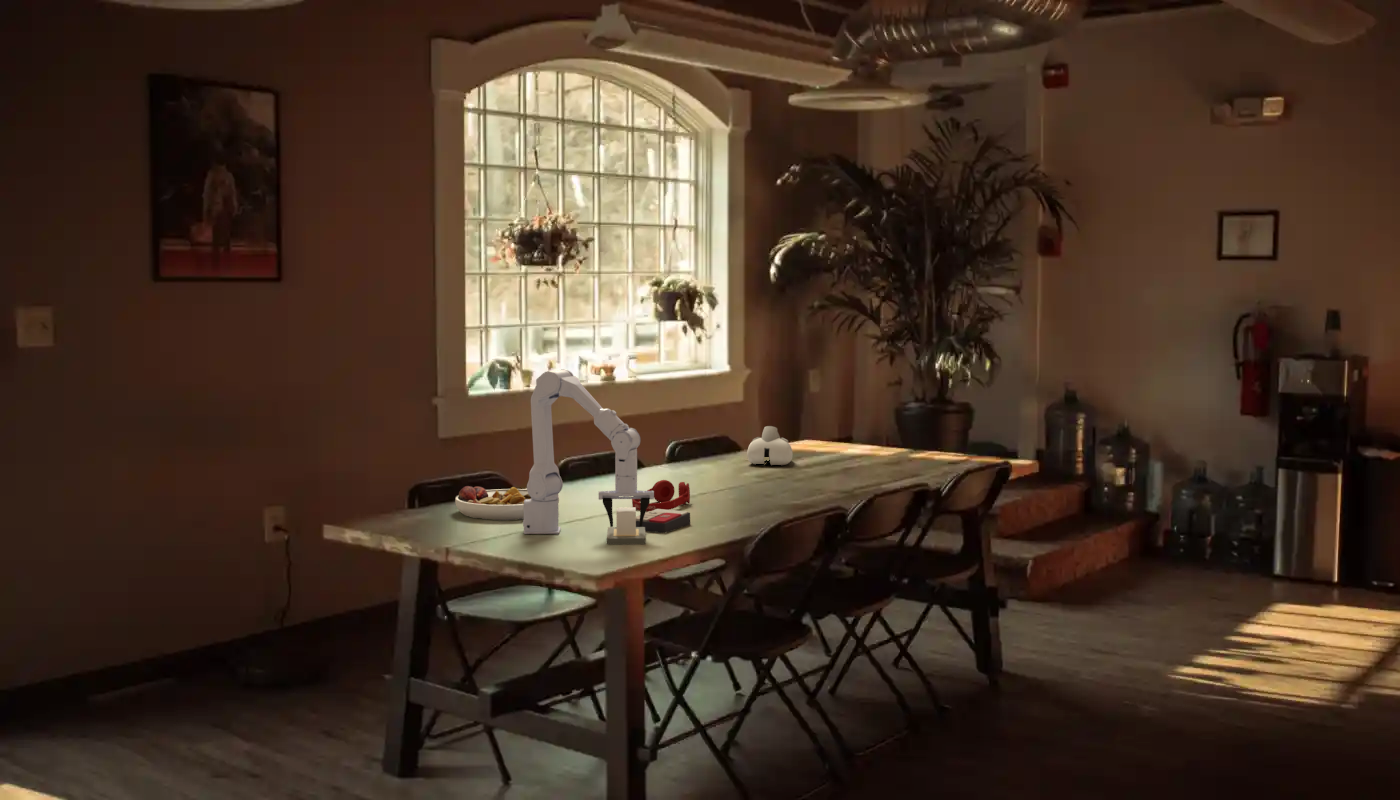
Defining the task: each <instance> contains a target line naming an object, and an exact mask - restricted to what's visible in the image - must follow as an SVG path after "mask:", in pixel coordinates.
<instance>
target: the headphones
mask: <svg viewBox="0 0 1400 800" xmlns="http://www.w3.org/2000/svg"><path fill="white" fill-rule="evenodd" d="M685 482H686V481H680V482H679V483H678V497H676V498H673V497H674V495H675V487H674V484H673V483H672V482H671V481H670V480H667V479H661V480H657V481H656V482H655V483H654V485H653V486H652V487H651V488H649V489H647V490H646V491H654V499H653V500H655V501H656V502H653V503H652V502H650V503H649V505H648V507H647V509H646V512H649V511H653V510H655V509H665V510H674V509H676V508H677V507H680V506H686V505H687V504H690V502H691V491H690V490H691V488H690V483H688V482H687V483H685ZM631 502H632V504H631V505H632V507H636V511H640V499H631ZM660 502H661V503H660Z"/></svg>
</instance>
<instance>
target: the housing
mask: <svg viewBox="0 0 1400 800" xmlns="http://www.w3.org/2000/svg"><path fill="white" fill-rule="evenodd" d="M615 515H616V527H617V535H636V517H637V510H636V507H633V506H631V507H629V506H627V507H625V506H622V507H621V506H619V507H616V514H615Z"/></svg>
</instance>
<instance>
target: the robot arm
mask: <svg viewBox="0 0 1400 800" xmlns="http://www.w3.org/2000/svg"><path fill="white" fill-rule="evenodd" d="M535 381H536V383H535V384H536V385H535V388H534V389H533V392H532V394H531V397H530V413H531V415H530V417H531V429H532V430H531V431H532V434H531V435H532V451H533V465H532V467H531V469H530V471H529V475H528V477H529V478H528V480H527V481H528V482H527V484H526V489H527V491H528V494H529V495H530V496H531V499H526V500H524V519H522V521H523V522H522V526H523V534H524V535H532V534H533V535H534V534H536V535H537V534H538V535H539V534H540V535H541V534H542V535H544V534H545V535H546V534H548V535H551V534H560V532H561V529H562V527H561V526H559V503H558V495H559V493H561V491H562V490H563V486H564V482H563V480H562V479H563V478H562V477H561V476H560V470H559V467H558V466H557V464H556V463H555V453H554V434H553V414H552V405H553V404H554V403H555V402H556V401H557V400H558V399H559V398H560V397H563V398H564V397H566V398H571V399H572V400H574V401H575V402H576V403H577V404H579V405H580V406H581V407H582V408H583V409H584V410H585V411H586V412H587V413H588V414H590V415H591V416H592V417H593V423H594V424H593V425H595V427H597V428H598V429H599V430H600V431H601V432H602V434H603V435H604V436H605V437H607V439H609V441H611V442H610V444H611V447H612V449H613V451H615V456H614V457H615V459H614V461H615V462H614V463H615V464H614V465H615V471H614V472H615V473H614V474H615V475H614V476H615V479H614V482H615V488H614V489H615V490H600V491H598V500H599V501H600V500H602V504H603V506H604V508H605V510H606V514H607V517H608V519H609V527H614V519H613V517H614V515H613V500H632V499H640V510H639V511H640V512H639V515H640V527H642V523H643V518H644V515H645V513H646V512H647V511H646V509H647V507H648V505H649V503H651V502H650V500H655V499H654V491H647V490H638V449H637V448H638V447H639V446H640V444H641V436H640V433H639V432H638V431H637V429H636V428H633V427H630V426H629V425H628V423H624V421H623V420H621V419H620V417H619V416H618V415H617V412H616V411H615V410H614V409H612V410H611V409H610V408H603V407H602V406H601V404H600V403H599V402H598V401H597V400H596V399H595V398H594V396H592V394H591V393H590V391H588V390H587V389H586V388H585V386H584V385H583V384H582V383H581V381H580V379H579V378H578V377H577V376H575V375H574V374H573V372H572V371H571V370H569V369H566V368H563V369H559V370H553V371H551V370H548V371H544V372H543V373H541V375H539V377H537V378H536V380H535Z"/></svg>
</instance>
